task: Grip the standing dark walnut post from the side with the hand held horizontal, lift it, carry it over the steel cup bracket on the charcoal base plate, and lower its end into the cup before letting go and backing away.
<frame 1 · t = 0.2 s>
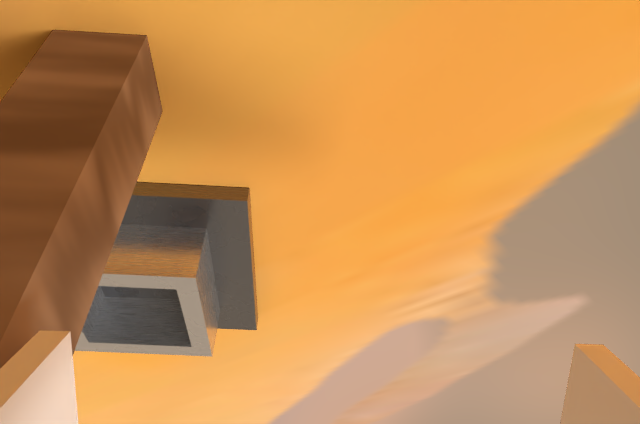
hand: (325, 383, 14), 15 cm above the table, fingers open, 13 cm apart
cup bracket: (147, 257, 34), on the table
walnut post: (111, 73, 24), on the table
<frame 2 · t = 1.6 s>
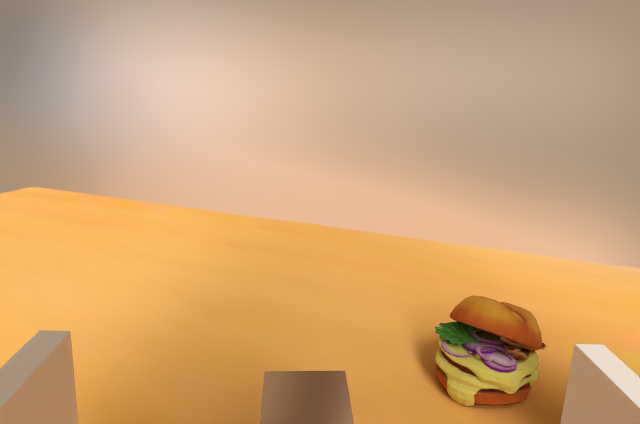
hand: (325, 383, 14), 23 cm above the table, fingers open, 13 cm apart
cheeseburger: (481, 382, 53), on the table
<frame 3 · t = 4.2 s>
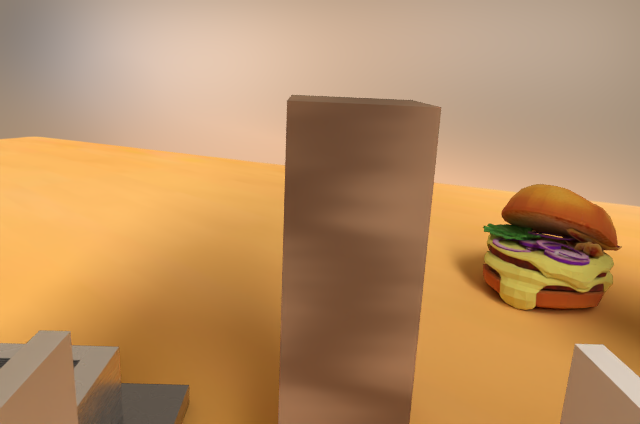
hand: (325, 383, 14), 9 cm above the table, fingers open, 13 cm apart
cheeseburger: (539, 292, 44), on the table
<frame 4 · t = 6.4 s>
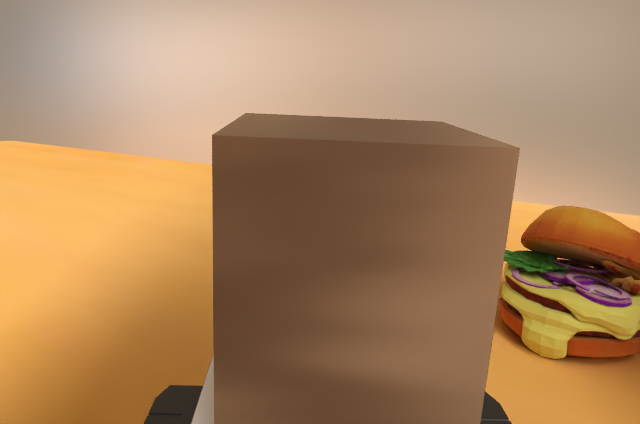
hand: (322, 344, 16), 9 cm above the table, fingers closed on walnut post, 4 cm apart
cheeseburger: (566, 332, 37), on the table
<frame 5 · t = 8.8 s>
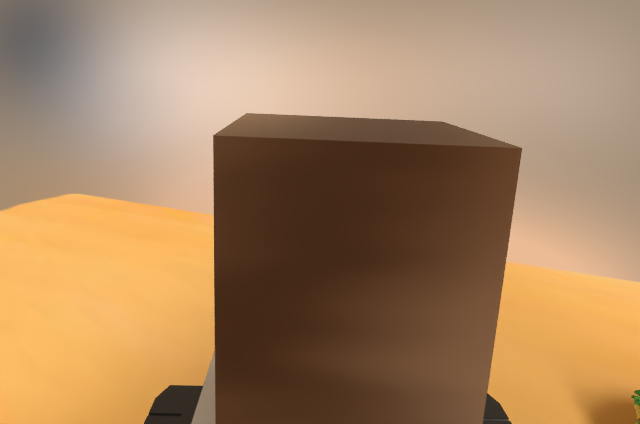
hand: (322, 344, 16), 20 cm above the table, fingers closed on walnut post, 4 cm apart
when the fingers open (12 cm above the table, at t = 11.2 s): walnut post drops 2 cm, resting on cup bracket.
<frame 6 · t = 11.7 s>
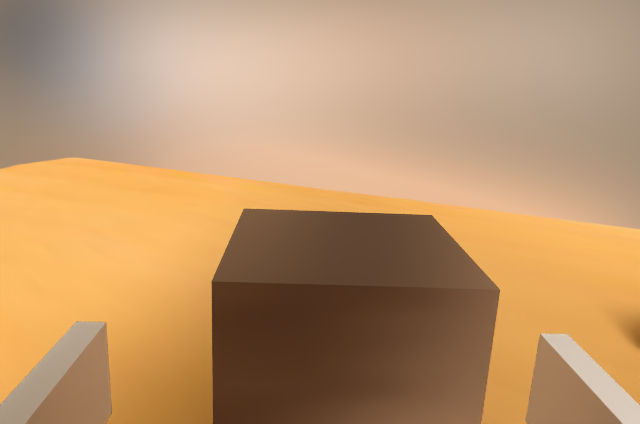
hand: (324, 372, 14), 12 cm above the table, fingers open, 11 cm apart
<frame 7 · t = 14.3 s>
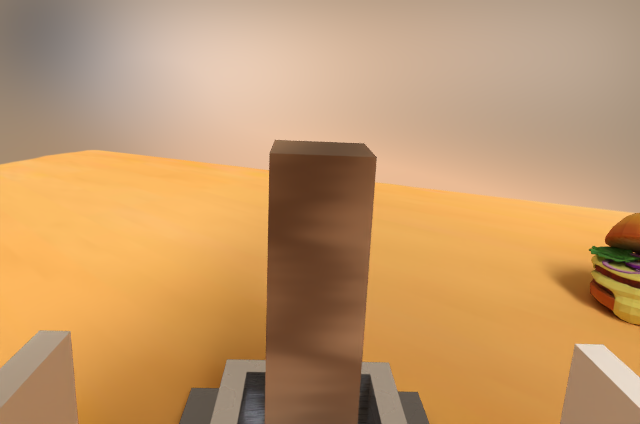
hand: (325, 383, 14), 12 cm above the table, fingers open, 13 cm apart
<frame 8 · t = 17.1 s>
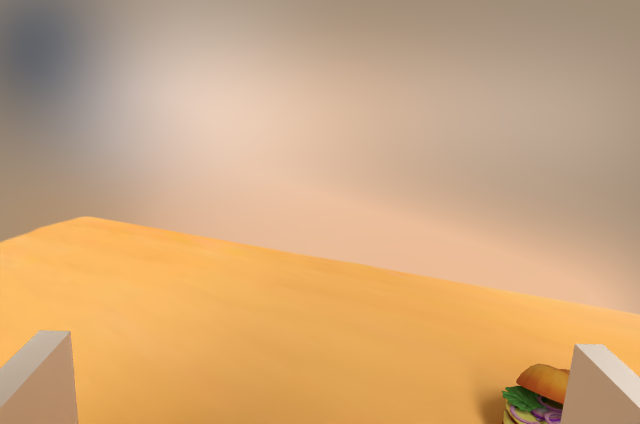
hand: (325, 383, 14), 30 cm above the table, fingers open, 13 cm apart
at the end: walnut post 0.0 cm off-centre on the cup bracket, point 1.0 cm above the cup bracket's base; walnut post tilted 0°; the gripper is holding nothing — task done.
